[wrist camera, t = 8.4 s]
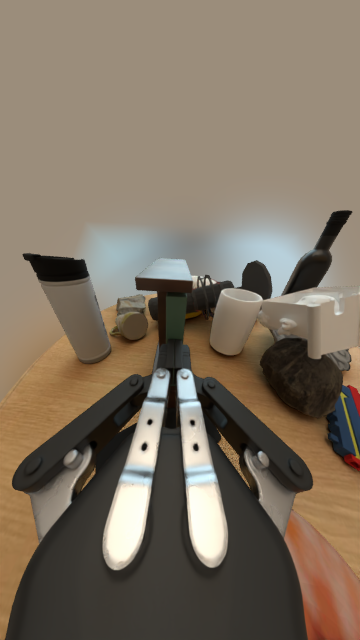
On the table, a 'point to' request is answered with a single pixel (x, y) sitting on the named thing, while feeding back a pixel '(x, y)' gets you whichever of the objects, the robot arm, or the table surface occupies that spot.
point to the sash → (175, 316)
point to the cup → (234, 320)
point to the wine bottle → (317, 257)
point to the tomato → (324, 583)
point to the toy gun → (346, 426)
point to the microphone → (207, 296)
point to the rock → (302, 377)
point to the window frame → (165, 279)
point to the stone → (131, 304)
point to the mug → (131, 325)
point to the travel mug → (73, 304)
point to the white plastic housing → (317, 317)
